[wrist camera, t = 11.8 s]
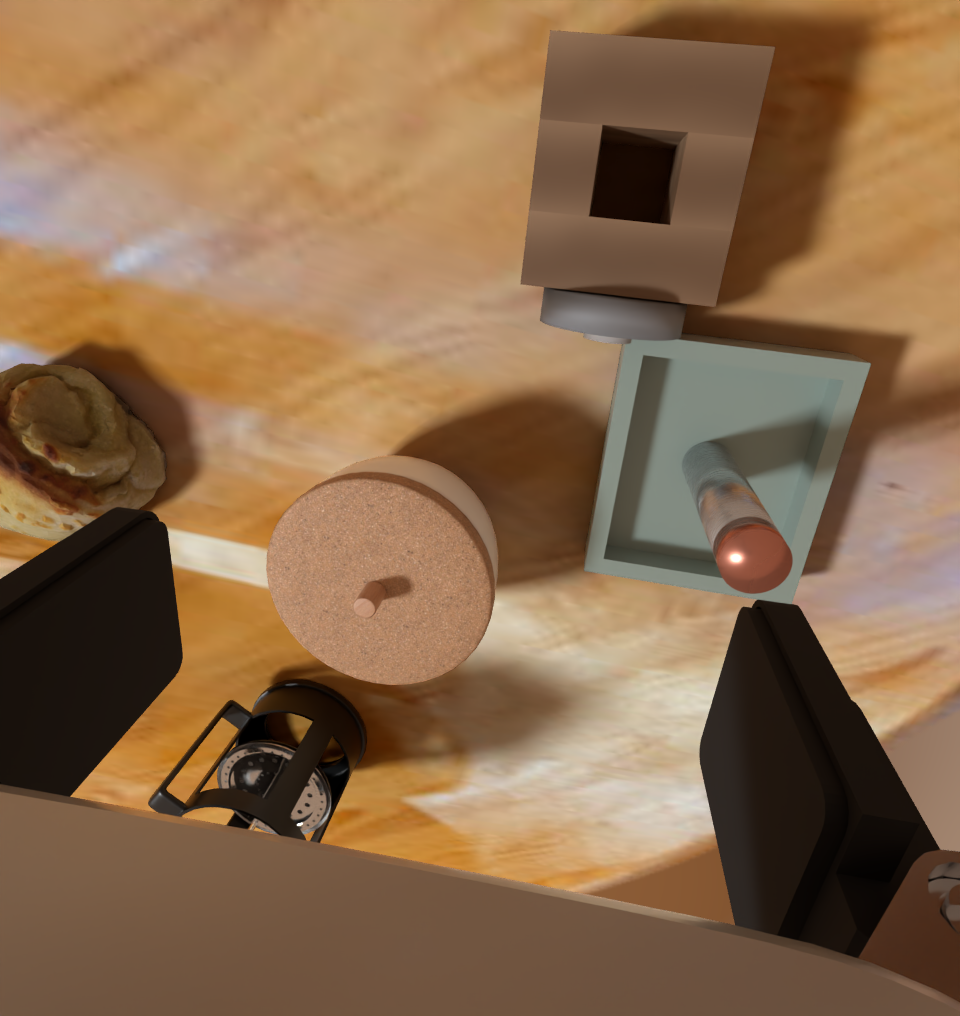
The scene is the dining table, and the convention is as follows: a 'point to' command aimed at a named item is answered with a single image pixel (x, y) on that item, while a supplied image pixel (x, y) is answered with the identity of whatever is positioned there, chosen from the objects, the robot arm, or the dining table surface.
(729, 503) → the lock pin
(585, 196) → the block
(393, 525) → the lidded bowl
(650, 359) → the tray
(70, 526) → the pastry
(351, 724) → the french press
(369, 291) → the dining table surface
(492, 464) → the dining table surface
